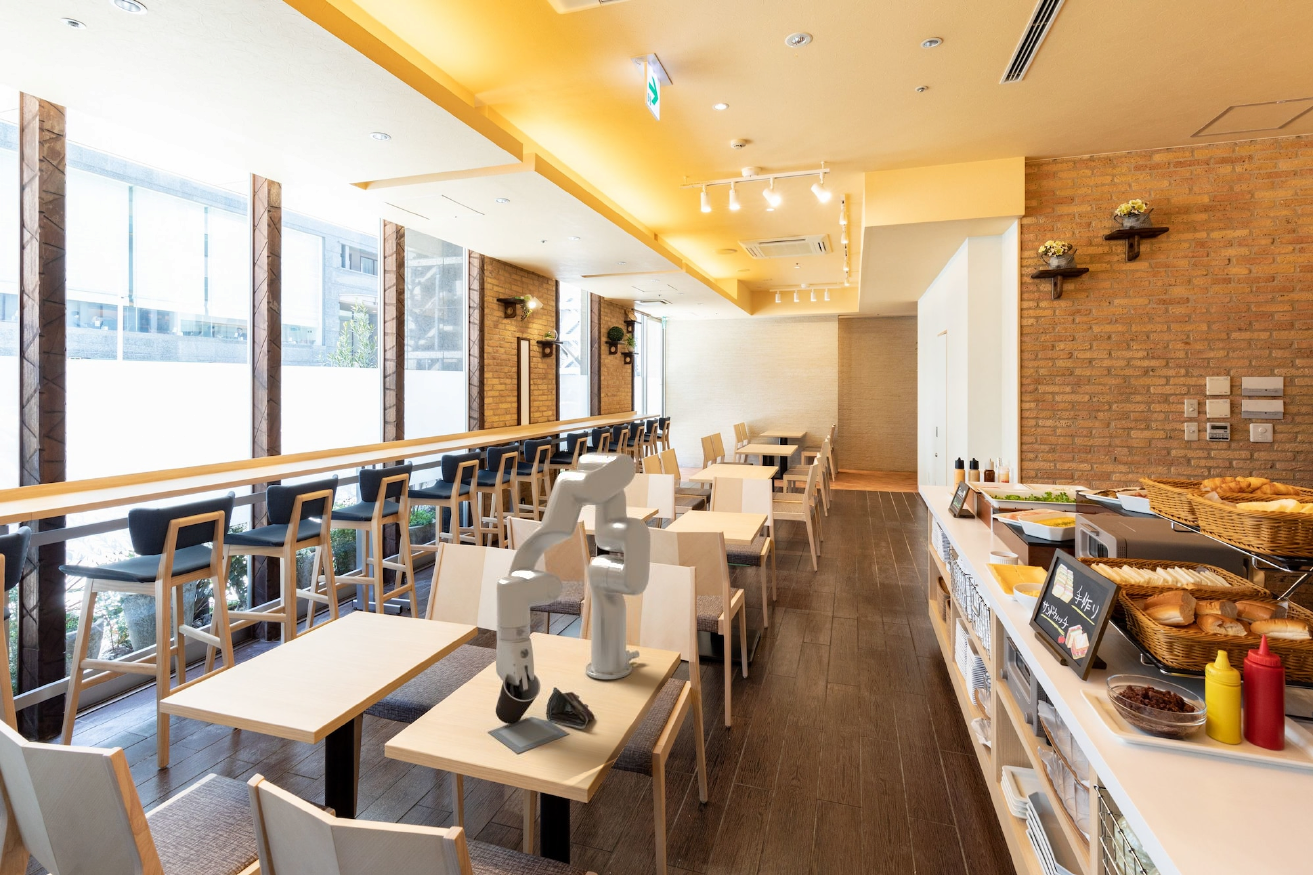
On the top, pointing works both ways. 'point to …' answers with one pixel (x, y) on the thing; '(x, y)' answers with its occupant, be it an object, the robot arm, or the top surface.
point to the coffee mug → (516, 702)
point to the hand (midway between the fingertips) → (513, 710)
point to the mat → (527, 734)
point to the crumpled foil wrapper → (567, 702)
